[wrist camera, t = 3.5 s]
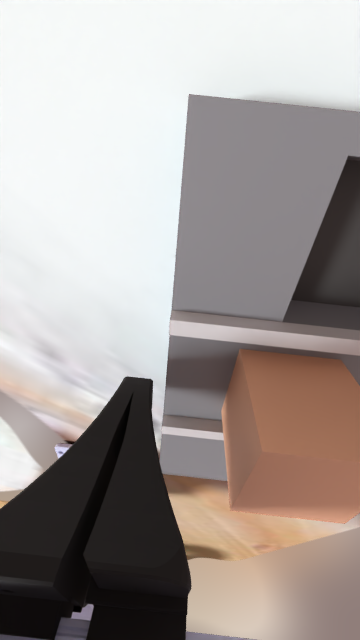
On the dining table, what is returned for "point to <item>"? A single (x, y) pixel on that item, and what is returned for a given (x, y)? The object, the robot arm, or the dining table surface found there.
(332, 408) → the terracotta block
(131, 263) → the dining table surface
